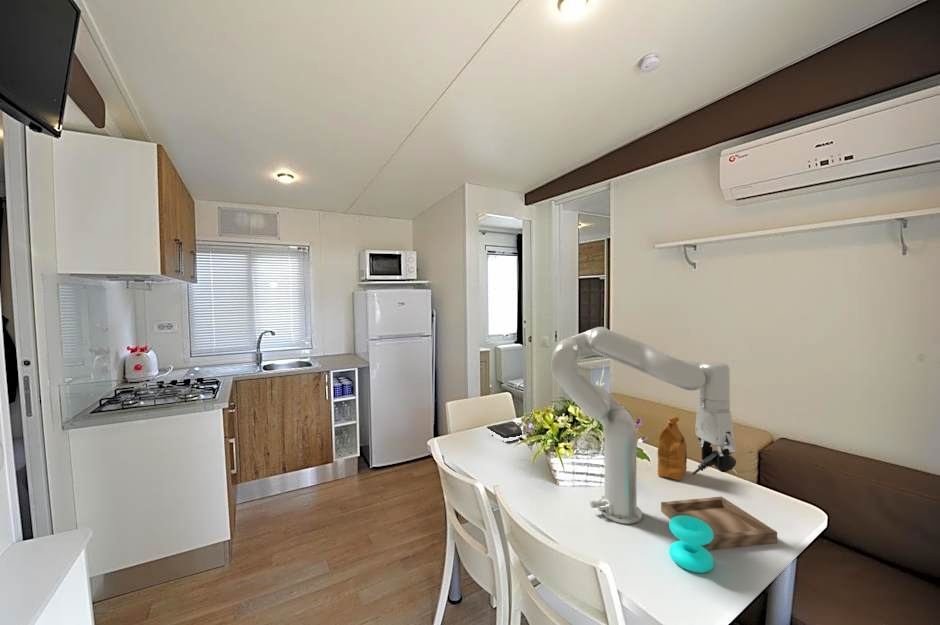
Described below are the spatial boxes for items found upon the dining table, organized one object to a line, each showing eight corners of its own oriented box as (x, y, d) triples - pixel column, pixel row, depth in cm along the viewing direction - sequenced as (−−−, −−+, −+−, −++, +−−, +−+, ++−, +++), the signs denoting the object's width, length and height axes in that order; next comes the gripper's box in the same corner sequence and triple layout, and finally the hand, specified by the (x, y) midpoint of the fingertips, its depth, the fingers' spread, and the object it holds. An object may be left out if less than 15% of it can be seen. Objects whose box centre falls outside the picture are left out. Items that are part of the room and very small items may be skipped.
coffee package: (691, 472, 149) (691, 417, 148) (682, 484, 140) (681, 425, 139) (664, 465, 156) (663, 412, 155) (653, 476, 147) (653, 419, 146)
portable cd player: (532, 437, 192) (532, 429, 192) (505, 444, 184) (505, 435, 184) (513, 428, 207) (513, 421, 207) (487, 434, 198) (486, 426, 198)
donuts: (713, 519, 100) (714, 540, 91) (713, 557, 100) (714, 580, 92) (670, 509, 105) (667, 528, 97) (670, 544, 105) (667, 566, 97)
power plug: (687, 467, 118) (718, 443, 116) (705, 485, 117) (737, 461, 115) (694, 476, 113) (726, 450, 110) (713, 495, 112) (746, 470, 110)
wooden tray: (706, 550, 103) (706, 539, 102) (661, 511, 122) (660, 502, 122) (777, 542, 105) (777, 531, 105) (721, 505, 125) (721, 496, 125)
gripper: (683, 397, 121) (683, 453, 121) (726, 412, 104) (726, 478, 104) (704, 396, 122) (704, 452, 122) (750, 411, 105) (750, 476, 105)
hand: (714, 463), depth 113 cm, fingers closed on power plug, 5 cm apart
